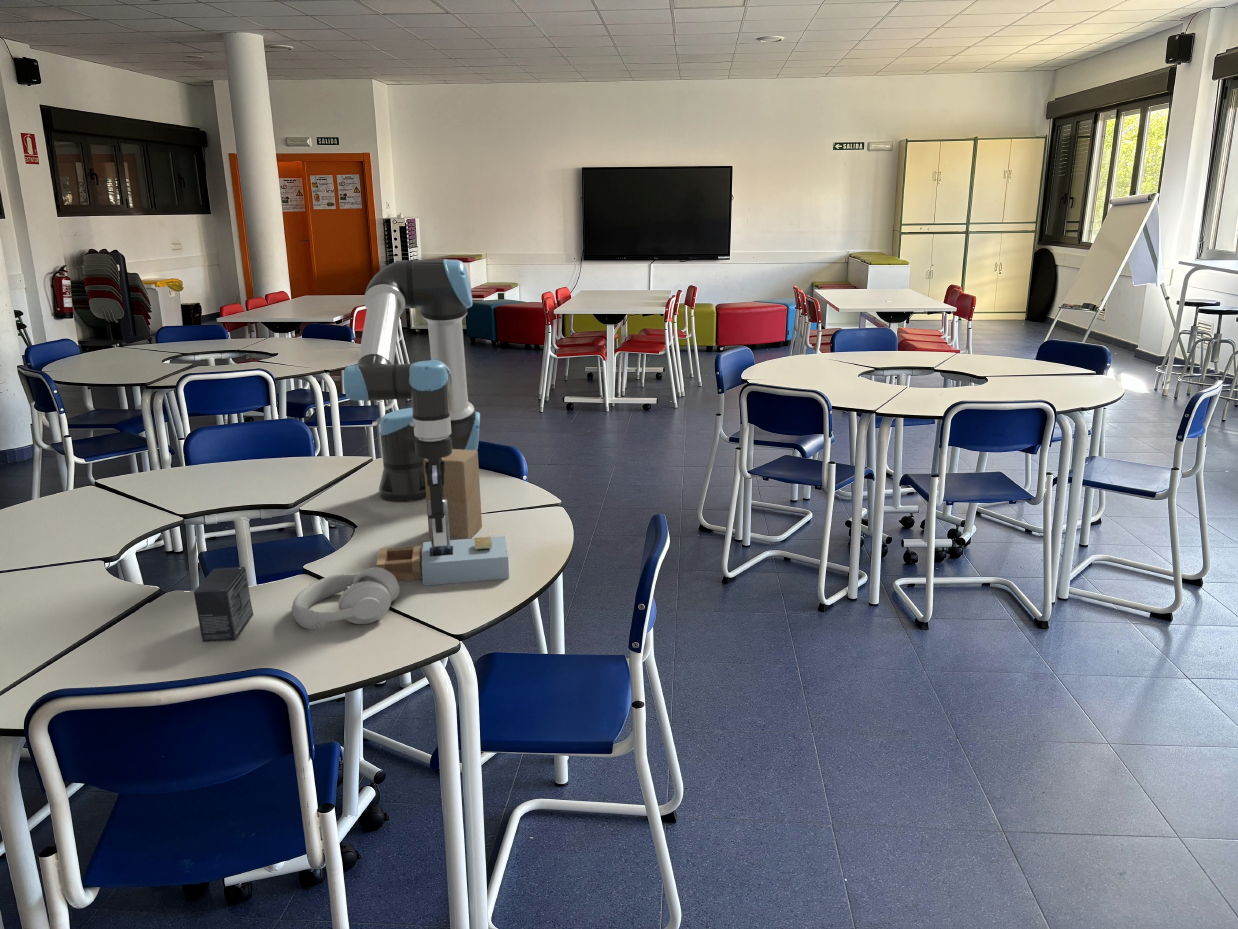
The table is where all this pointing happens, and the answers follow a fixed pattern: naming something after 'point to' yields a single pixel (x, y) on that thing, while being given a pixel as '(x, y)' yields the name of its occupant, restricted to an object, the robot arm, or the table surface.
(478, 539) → the small square tan block
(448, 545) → the cylinder
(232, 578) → the small box
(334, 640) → the table surface
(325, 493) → the table surface
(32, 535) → the table surface
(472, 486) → the wooden block
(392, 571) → the rack
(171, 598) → the table surface
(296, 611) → the headphones
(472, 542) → the socket block
